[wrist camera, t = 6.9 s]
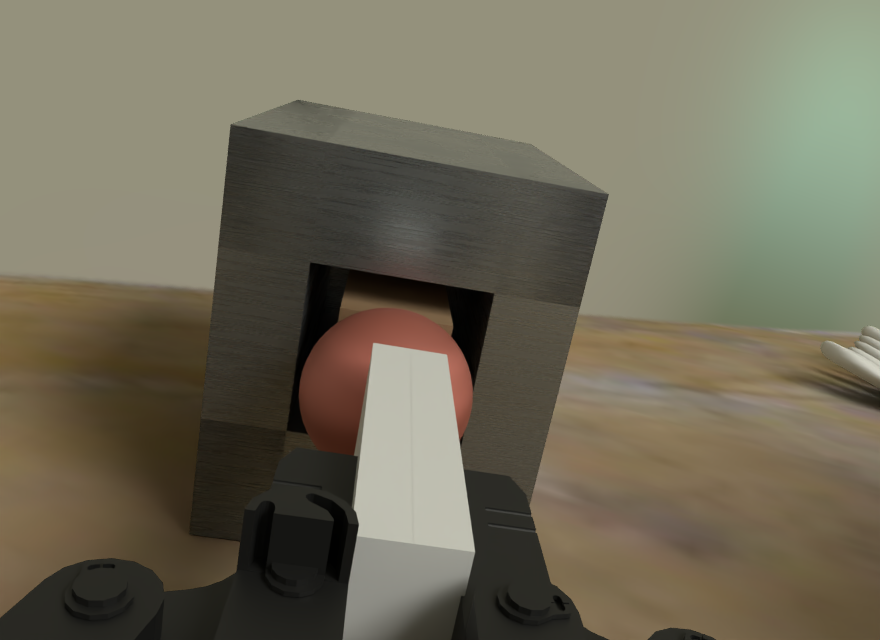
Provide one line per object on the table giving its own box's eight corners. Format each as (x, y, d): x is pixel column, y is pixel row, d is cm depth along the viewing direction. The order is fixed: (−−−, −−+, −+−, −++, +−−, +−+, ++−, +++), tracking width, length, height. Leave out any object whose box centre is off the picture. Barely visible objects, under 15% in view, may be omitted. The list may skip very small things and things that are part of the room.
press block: (511, 576, 22) (608, 194, 19) (188, 534, 21) (230, 124, 18) (474, 400, 33) (530, 143, 30) (263, 368, 32) (298, 100, 29)
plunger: (460, 528, 17) (498, 359, 16) (276, 503, 16) (300, 328, 15) (435, 326, 30) (455, 225, 28) (331, 309, 29) (347, 206, 28)
